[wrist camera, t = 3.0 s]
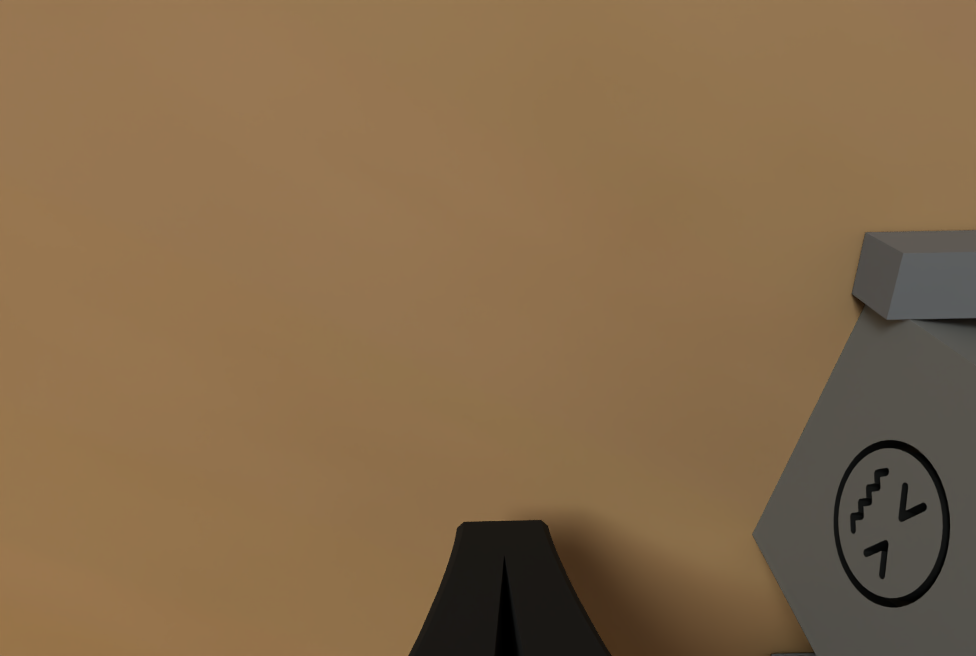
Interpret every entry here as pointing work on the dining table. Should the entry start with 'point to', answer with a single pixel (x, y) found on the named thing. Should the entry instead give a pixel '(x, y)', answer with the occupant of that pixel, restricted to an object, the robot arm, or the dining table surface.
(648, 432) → the dining table surface
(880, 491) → the dice cube
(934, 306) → the guide lane
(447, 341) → the dining table surface
